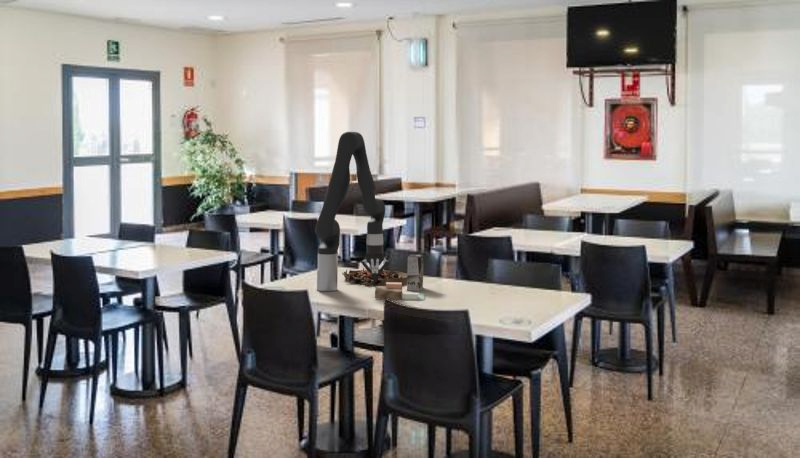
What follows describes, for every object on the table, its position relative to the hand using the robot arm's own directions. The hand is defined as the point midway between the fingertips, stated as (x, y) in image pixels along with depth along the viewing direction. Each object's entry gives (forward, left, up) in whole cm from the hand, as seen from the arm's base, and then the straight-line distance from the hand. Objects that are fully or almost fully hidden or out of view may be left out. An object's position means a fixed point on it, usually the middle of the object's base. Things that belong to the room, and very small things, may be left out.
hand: (375, 281), depth 378 cm
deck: (+6, -3, -6) cm, 9 cm away
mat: (+18, -3, -6) cm, 19 cm away
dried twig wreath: (-1, +35, -7) cm, 36 cm away
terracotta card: (+9, 0, -3) cm, 9 cm away
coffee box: (+18, +16, -7) cm, 25 cm away
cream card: (+16, -7, -6) cm, 19 cm away
